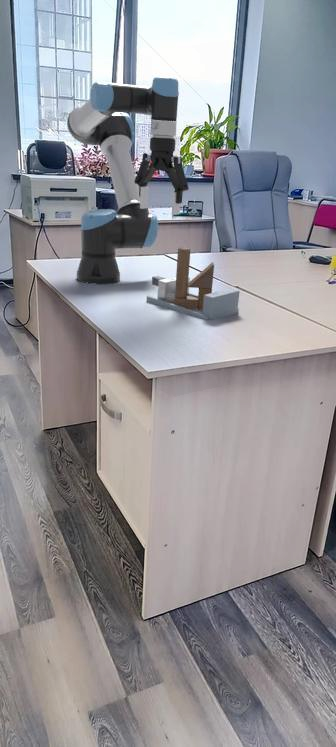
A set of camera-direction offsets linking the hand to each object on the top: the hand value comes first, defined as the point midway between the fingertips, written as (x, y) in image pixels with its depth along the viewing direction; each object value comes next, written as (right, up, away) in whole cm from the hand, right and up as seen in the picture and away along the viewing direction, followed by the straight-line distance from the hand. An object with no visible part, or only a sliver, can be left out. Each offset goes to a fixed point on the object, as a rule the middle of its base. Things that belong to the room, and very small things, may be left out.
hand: (159, 211), depth 167 cm
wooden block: (+10, -32, -7) cm, 34 cm away
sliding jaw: (+2, -27, 0) cm, 27 cm away
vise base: (+10, -31, -7) cm, 33 cm away
